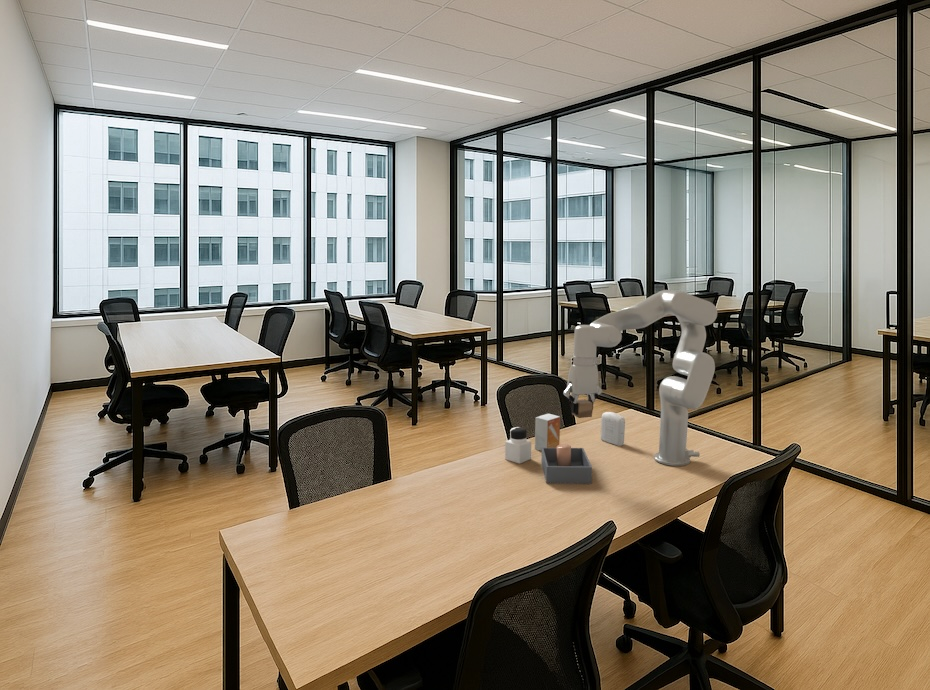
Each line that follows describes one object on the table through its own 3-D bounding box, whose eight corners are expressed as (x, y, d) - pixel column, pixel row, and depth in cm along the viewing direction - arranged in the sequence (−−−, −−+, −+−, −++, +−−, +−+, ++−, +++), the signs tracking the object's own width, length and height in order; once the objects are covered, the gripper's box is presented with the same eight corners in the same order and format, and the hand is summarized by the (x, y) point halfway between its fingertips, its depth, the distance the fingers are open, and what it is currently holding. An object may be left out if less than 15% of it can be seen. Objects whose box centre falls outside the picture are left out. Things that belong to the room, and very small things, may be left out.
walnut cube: (591, 416, 208) (592, 402, 207) (579, 418, 206) (579, 403, 205) (584, 413, 213) (585, 399, 212) (571, 414, 211) (572, 400, 210)
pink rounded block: (568, 462, 221) (568, 443, 220) (573, 466, 216) (572, 448, 215) (555, 463, 220) (554, 445, 219) (559, 468, 216) (559, 449, 214)
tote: (582, 462, 223) (583, 447, 222) (591, 483, 204) (592, 467, 203) (541, 462, 223) (541, 447, 222) (546, 483, 205) (546, 466, 204)
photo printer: (625, 444, 242) (627, 414, 240) (618, 446, 240) (619, 416, 238) (606, 438, 251) (607, 409, 249) (598, 440, 248) (599, 410, 246)
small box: (547, 453, 234) (547, 420, 231) (534, 449, 238) (534, 417, 236) (560, 448, 239) (560, 416, 237) (547, 444, 244) (547, 413, 241)
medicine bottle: (531, 459, 227) (531, 428, 225) (519, 464, 222) (520, 432, 220) (516, 454, 232) (516, 424, 230) (504, 459, 227) (504, 428, 225)
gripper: (600, 358, 212) (597, 408, 215) (556, 360, 207) (554, 412, 210) (612, 362, 205) (609, 414, 208) (567, 364, 200) (565, 418, 203)
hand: (581, 412), depth 209 cm, fingers closed on walnut cube, 5 cm apart
